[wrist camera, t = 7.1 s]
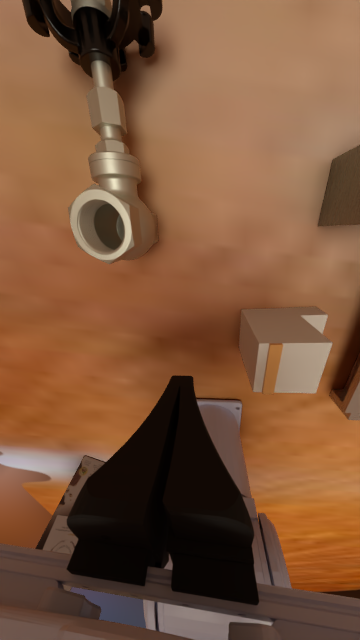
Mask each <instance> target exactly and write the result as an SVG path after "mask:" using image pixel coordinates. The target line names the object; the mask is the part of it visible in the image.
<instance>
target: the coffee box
mask: <svg viewBox="0 0 360 640" xmlns="http://www.w3.org/2000/svg"><path fill="white" fill-rule="evenodd" d="M103 464H105V463H104V462H101V461H98V460H96V459H93V458H90V457H88V456H84V458H83V459H82V461H81V463H80V465H79V467H78V469H77V471H76V473H75V475H74V476H73V478H72V480H71V482H70V484H69V486H68V488H67V490H66V492H65V493H64V495H63V497H62V499H61V501H60V503H59V505H58V507H57V509H56V511H55V512H54V514H53V516H52V519H51V520H50V522H49V524H48V526H47V528H46V530H45V531H44V533H43V535H42V537H41V539H40V541H39V543H38V545H37V547H36V548H35V549H39V550H46V551H52V552H59V553H65V554H73V551H74V549H75V546H76V544H77V541H78V538H77V537H76V536H75V535H74V534H73V532H72V531H71V530H70V529H69V528H68V526H67V518H68V515H69V513H70V511H71V509H72V507H73V505H74V502H75V500H76V498H77V496H78V494H79V492H80V490H81V489H82V487H83V485H84V483H85V482H86V480H87V478H89V477H90V476H91V475H92V474H93V473H94V472H95V471H97V470H98V469H99V468H100V467H101V466H102V465H103ZM63 587H64V590H66V591H70V590H71V586H65V585H63Z"/></svg>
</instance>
